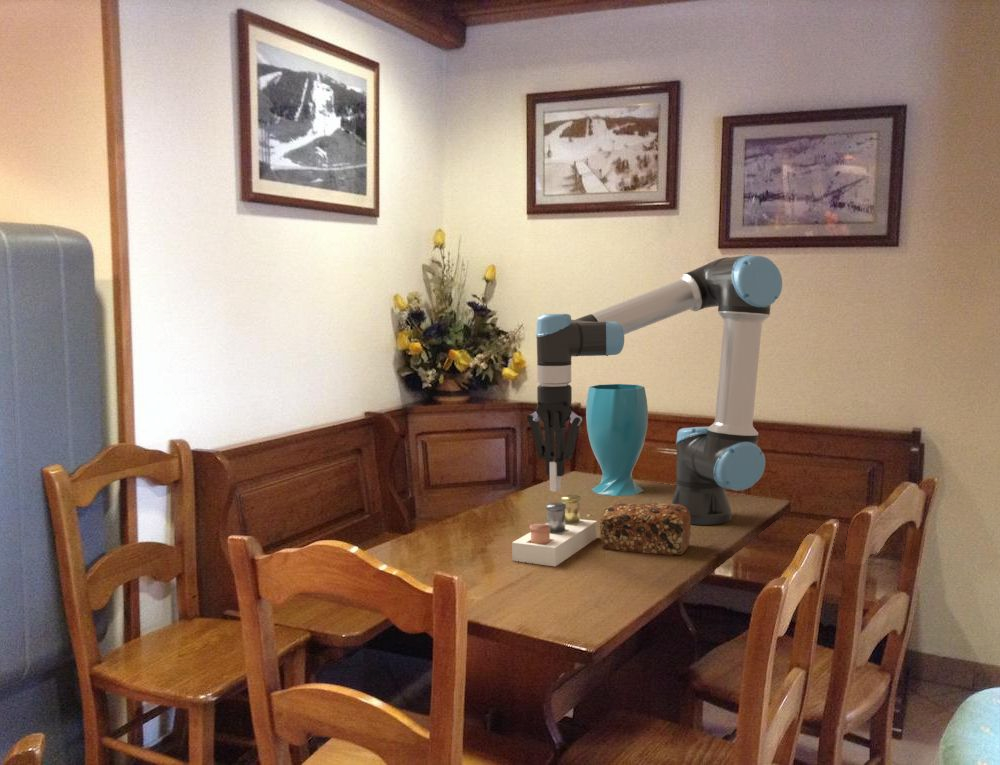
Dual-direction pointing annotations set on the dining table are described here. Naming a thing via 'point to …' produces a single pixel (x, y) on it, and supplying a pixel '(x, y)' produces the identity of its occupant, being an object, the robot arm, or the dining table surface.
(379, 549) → the dining table surface
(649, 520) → the bread
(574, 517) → the brass plug
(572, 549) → the slab
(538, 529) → the terracotta plug
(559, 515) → the grey plug
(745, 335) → the robot arm
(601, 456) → the vase
